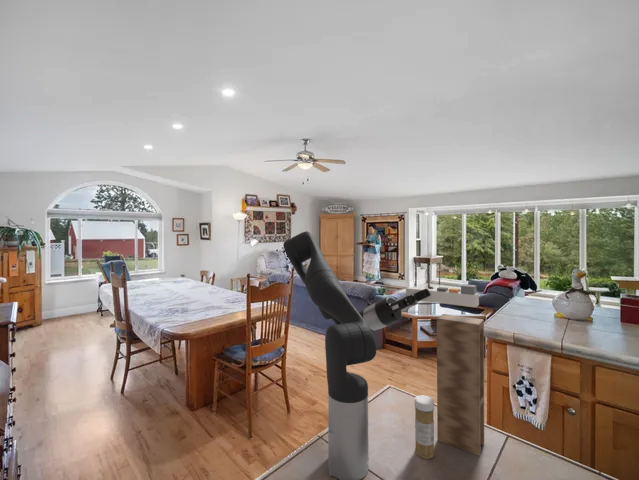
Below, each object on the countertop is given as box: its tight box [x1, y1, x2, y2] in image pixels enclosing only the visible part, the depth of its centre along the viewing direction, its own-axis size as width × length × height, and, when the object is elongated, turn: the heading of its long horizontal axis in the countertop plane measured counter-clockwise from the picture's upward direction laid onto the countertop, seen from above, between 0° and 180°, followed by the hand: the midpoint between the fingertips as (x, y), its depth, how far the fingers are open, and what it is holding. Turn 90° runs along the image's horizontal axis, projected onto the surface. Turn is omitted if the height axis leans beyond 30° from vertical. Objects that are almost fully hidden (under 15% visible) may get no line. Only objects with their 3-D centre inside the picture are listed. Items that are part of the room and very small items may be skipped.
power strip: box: [405, 283, 480, 308], centre depth 84 cm, size 18×4×5 cm, turn 52°
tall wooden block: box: [436, 313, 485, 457], centre depth 81 cm, size 10×6×32 cm, turn 52°
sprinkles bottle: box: [414, 394, 435, 460], centre depth 77 cm, size 5×5×14 cm
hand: (430, 290), depth 85 cm, fingers closed on power strip, 3 cm apart
